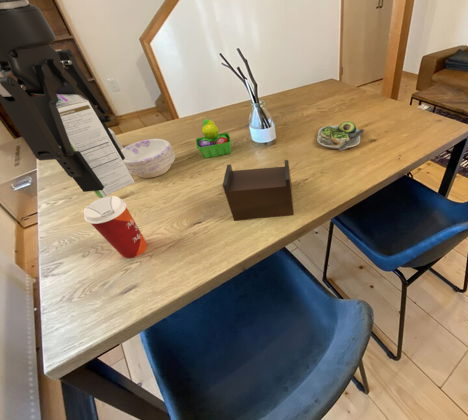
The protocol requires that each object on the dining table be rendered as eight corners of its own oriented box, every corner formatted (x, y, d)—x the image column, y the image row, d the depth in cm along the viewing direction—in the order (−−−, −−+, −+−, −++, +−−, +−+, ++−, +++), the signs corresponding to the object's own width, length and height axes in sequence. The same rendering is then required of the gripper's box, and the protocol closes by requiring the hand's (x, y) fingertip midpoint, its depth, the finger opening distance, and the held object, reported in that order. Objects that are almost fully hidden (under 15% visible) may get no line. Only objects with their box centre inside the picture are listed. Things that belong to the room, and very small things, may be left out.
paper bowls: (154, 154, 99) (145, 134, 94) (188, 162, 95) (180, 141, 89) (117, 177, 89) (104, 156, 83) (153, 188, 84) (142, 166, 79)
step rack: (293, 215, 75) (289, 179, 67) (233, 220, 74) (222, 185, 66) (291, 182, 86) (287, 148, 78) (239, 186, 85) (229, 152, 76)
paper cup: (157, 248, 67) (128, 205, 57) (123, 267, 63) (86, 224, 53) (144, 232, 71) (116, 189, 61) (111, 249, 67) (75, 206, 57)
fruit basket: (201, 161, 96) (190, 131, 88) (199, 149, 102) (189, 119, 94) (234, 154, 99) (226, 124, 91) (231, 143, 105) (223, 114, 97)
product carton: (125, 151, 101) (114, 132, 96) (107, 157, 98) (95, 138, 93) (119, 145, 104) (108, 127, 99) (101, 151, 101) (89, 133, 96)
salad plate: (363, 155, 97) (364, 144, 94) (313, 153, 99) (312, 141, 96) (363, 130, 112) (364, 119, 108) (320, 128, 113) (319, 117, 110)
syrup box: (87, 186, 47) (23, 101, 37) (123, 170, 50) (74, 89, 41) (100, 199, 44) (35, 112, 35) (137, 182, 48) (88, 98, 38)
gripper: (-47, 19, 23) (102, 213, 39) (77, -6, 38) (149, 141, 54) (-150, 22, 23) (44, 219, 38) (17, -4, 38) (108, 144, 53)
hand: (105, 173), depth 46 cm, fingers closed on syrup box, 8 cm apart
